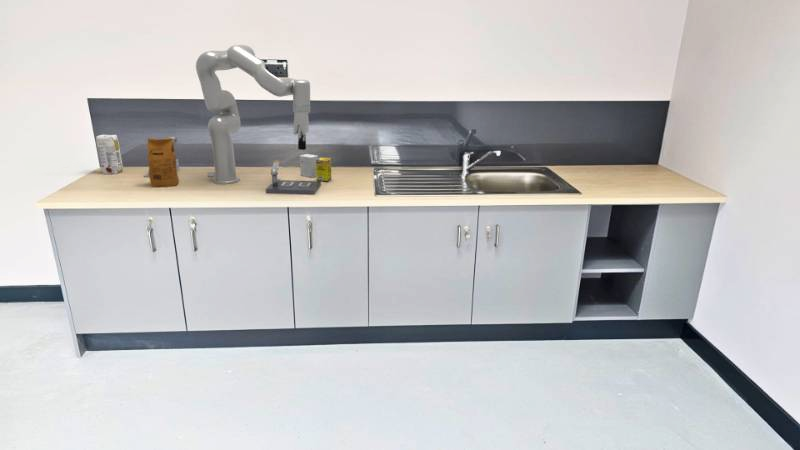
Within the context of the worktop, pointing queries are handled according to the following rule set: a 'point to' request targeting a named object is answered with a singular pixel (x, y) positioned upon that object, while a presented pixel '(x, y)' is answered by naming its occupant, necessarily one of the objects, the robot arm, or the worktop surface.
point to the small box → (308, 165)
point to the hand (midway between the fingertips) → (302, 149)
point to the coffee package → (162, 162)
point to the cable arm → (275, 167)
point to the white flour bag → (109, 154)
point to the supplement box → (323, 169)
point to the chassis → (293, 187)
